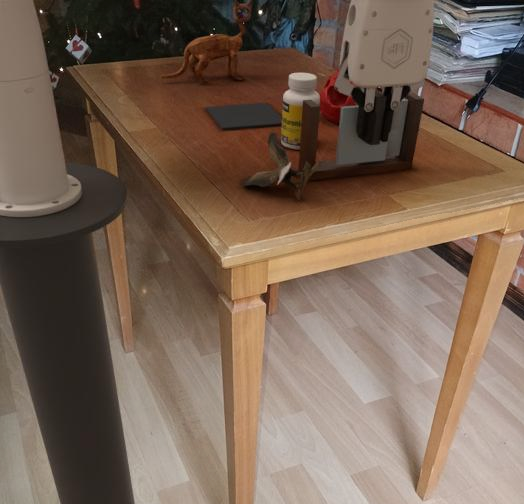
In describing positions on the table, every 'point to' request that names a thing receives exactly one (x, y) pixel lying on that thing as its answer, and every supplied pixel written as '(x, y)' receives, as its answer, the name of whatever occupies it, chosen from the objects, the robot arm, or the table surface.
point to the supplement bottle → (296, 107)
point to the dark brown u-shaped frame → (395, 160)
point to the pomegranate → (334, 99)
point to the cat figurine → (215, 48)
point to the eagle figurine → (282, 169)
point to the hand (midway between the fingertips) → (372, 138)
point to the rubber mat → (245, 116)
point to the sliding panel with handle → (351, 144)
